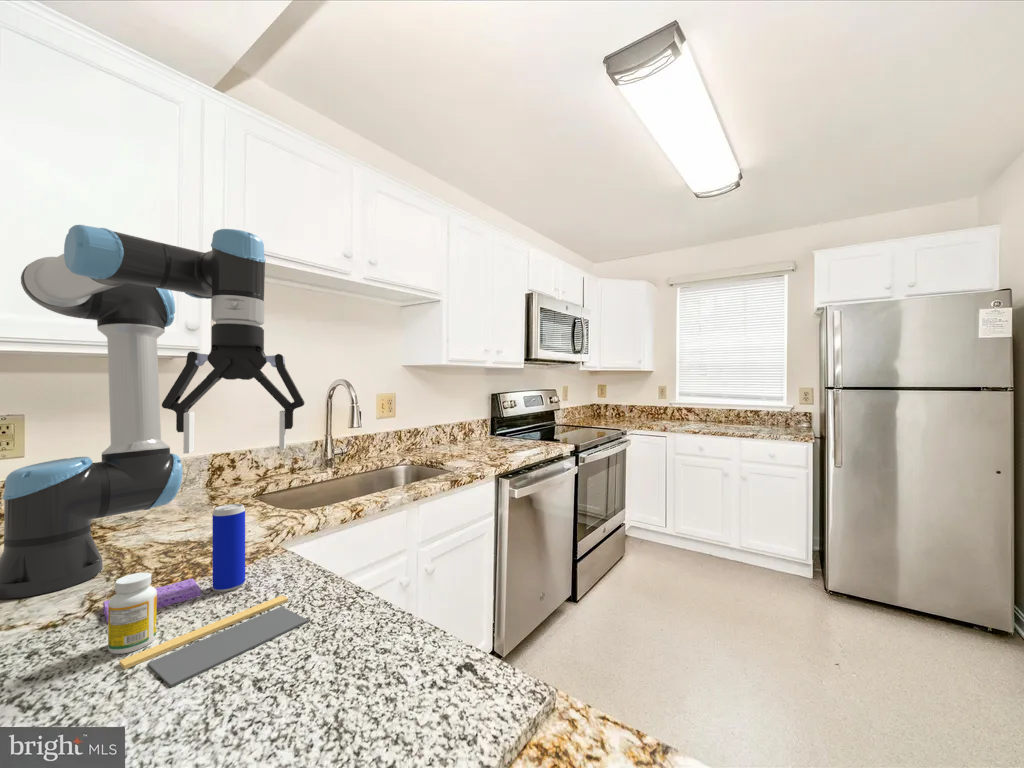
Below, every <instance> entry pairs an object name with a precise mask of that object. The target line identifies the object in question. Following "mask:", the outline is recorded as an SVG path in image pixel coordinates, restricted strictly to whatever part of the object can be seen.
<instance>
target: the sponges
mask: <svg viewBox="0 0 1024 768" xmlns="http://www.w3.org/2000/svg"><path fill="white" fill-rule="evenodd" d="M154 588H155V587H154ZM155 589H156V591H157V610H158V609H161V608H163V607H164V608H165V607H168V606H171V605H174V603H175V604H179V603H182V602H186V601H189V600H192V599H191V598H193V599H196V598H198V597H197V596H200V595H201V594H202V590H201V587H200V585H198V583H197V582H196V581H195V579H194V578H188V579H185V580H182V581H177V582H175V583H172V584H168V585H167V584H166V585H164V586H159V587H156V588H155ZM195 597H196V598H195ZM200 597H201V596H200ZM188 599H189V600H188ZM185 600H186V601H185ZM109 601H110V599H108V600H104V601H103V604H102V605H103V609H102V610H103V613H104V616H105V622H106V623H107V624H108V605H109Z"/></svg>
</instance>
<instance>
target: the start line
mask: <svg viewBox="0 0 1024 768" xmlns="http://www.w3.org/2000/svg"><path fill="white" fill-rule="evenodd" d="M287 602H289V597H286V596H284V595H283V594H282V595H279V596H276V597H274V598H272V599H270V600H267V601H265V602H262V603H259V604H257V605H254V606H252V607H249V608H246V609H244V610H241V611H239V612H236V613H235V614H232V615H230V616H227V617H225V618H222V619H220V620H217V621H215V622H212V623H210V624H206V625H205V626H203V627H200V628H197V629H194V630H192V631H190V632H188V633H184V634H182V635H180V636H177V637H175V638H172V639H170V640H167V641H165V642H163V643H159V644H158V645H155V646H153V647H150V648H147V649H145V650H142V651H140V652H138V653H135V654H132V655H130V656H127V657H125V658H123V659H120V660H119V665H120V666H121V668H122V669H123V670H127V669H129V668H131V667H134V666H136V665H139V664H141V663H143V662H146V661H149V660H150V659H153V658H155V657H158V656H160V655H164V654H165V653H167V652H169V651H173V650H175V649H177V648H179V647H181V646H184V645H186V644H188V643H192V642H193V641H196V640H198V639H200V638H203V637H206V636H207V635H210V634H212V633H214V632H217V631H221V630H223V629H225V628H227V627H229V626H231V625H234V624H237V623H239V622H241V621H244V620H247V619H248V618H251V617H253V616H255V615H259V614H260V613H263V612H265V611H268V610H270V609H272V608H274V607H277V606H278V607H279V605H282V604H285V603H287Z"/></svg>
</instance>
